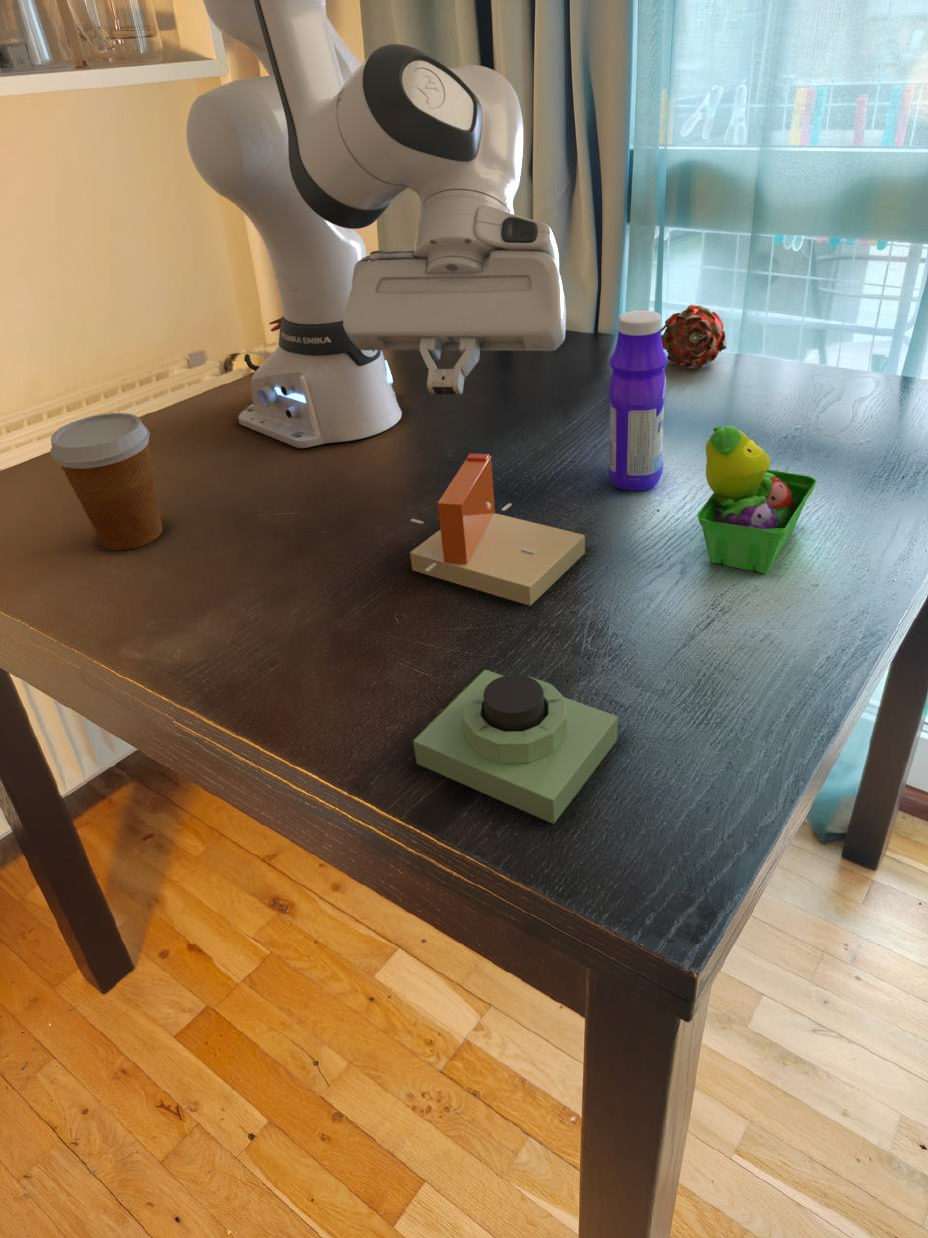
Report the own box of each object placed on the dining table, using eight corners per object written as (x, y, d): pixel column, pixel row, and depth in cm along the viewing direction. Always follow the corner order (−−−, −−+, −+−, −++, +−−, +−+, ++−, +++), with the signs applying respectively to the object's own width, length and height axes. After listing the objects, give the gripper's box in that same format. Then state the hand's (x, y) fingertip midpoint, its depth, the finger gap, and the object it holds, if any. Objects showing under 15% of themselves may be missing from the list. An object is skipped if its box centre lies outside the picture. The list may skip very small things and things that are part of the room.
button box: (416, 764, 61) (409, 720, 59) (486, 691, 67) (483, 649, 64) (553, 824, 55) (552, 779, 53) (617, 739, 61) (618, 695, 59)
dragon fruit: (705, 390, 117) (667, 376, 128) (754, 344, 116) (711, 333, 126) (669, 343, 113) (634, 332, 124) (719, 295, 112) (679, 288, 123)
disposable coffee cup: (93, 568, 88) (51, 458, 81) (80, 530, 95) (41, 426, 88) (186, 540, 91) (154, 432, 84) (168, 506, 98) (136, 403, 91)
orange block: (467, 564, 78) (461, 501, 75) (444, 562, 79) (437, 500, 75) (495, 511, 86) (490, 453, 83) (473, 510, 87) (468, 452, 83)
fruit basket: (776, 585, 75) (793, 464, 69) (677, 563, 79) (685, 447, 73) (811, 526, 83) (829, 412, 76) (719, 509, 87) (729, 400, 81)
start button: (473, 720, 59) (471, 700, 58) (505, 687, 61) (504, 667, 60) (524, 740, 57) (523, 720, 56) (555, 705, 59) (554, 685, 58)
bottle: (661, 495, 90) (670, 325, 81) (606, 494, 92) (607, 327, 82) (662, 465, 96) (670, 303, 86) (610, 464, 97) (612, 305, 87)
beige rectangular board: (368, 572, 83) (365, 552, 82) (454, 508, 92) (452, 489, 91) (517, 618, 74) (516, 597, 73) (595, 543, 84) (595, 523, 82)
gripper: (344, 232, 80) (322, 374, 77) (568, 224, 74) (551, 377, 72) (368, 270, 86) (348, 403, 84) (576, 266, 80) (560, 408, 78)
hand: (444, 391), depth 78 cm, fingers closed
